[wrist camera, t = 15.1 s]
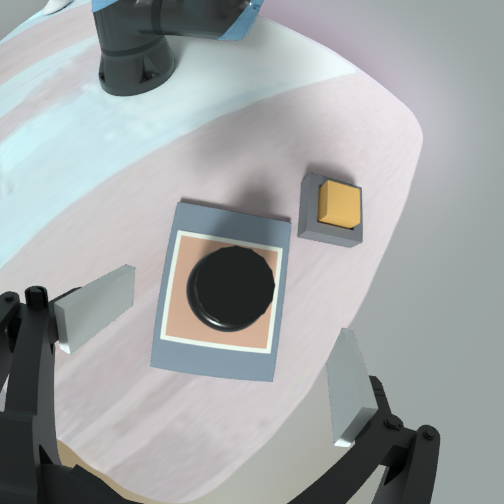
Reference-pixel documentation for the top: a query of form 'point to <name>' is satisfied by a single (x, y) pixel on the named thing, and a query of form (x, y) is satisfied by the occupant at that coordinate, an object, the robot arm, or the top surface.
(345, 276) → the top surface
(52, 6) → the flower in vase
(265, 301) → the ink bottle
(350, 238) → the button housing
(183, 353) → the picture board
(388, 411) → the robot arm
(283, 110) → the top surface
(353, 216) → the button
